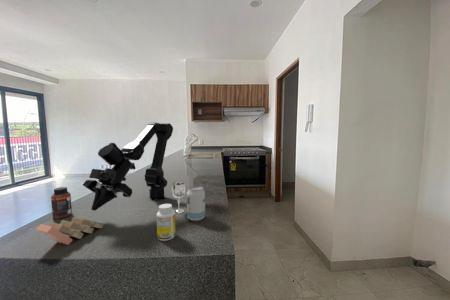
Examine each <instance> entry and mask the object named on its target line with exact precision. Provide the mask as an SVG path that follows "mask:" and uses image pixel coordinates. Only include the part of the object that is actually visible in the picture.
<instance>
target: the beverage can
mask: <svg viewBox="0 0 450 300" xmlns="http://www.w3.org/2000/svg"><path fill="white" fill-rule="evenodd" d="M205 217H206V192H205V190H204V187H203V186H199V185H198V186H197V185H195V186H190V187H188V190H187V192H186V218H187V219H188V220H189V221H192V222H199V221H202V220H203V219H204V218H205Z"/></svg>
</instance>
